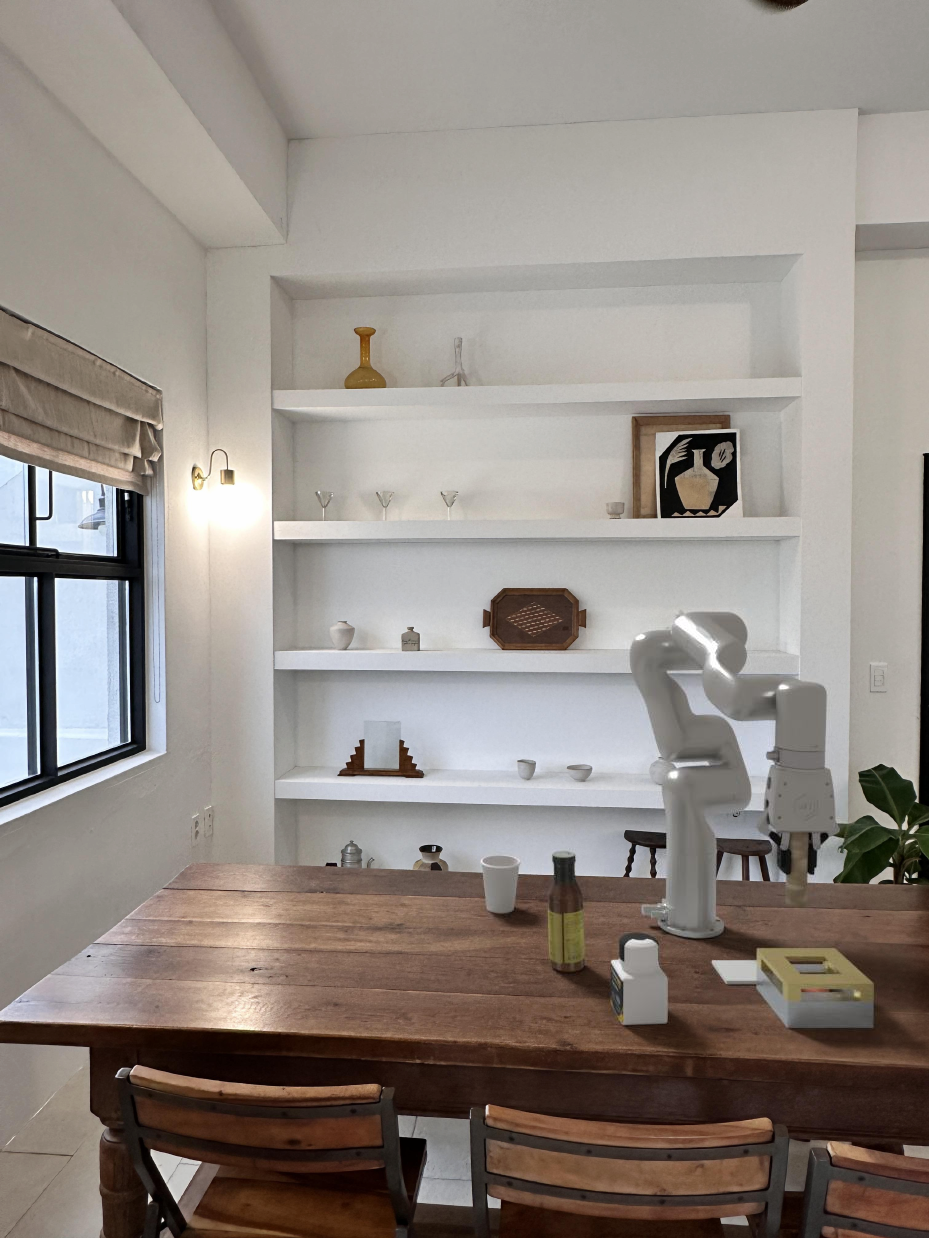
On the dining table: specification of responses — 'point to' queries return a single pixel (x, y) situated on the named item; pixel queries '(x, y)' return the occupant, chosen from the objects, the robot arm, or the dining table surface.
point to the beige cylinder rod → (797, 870)
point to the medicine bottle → (639, 981)
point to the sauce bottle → (565, 916)
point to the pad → (737, 971)
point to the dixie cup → (500, 882)
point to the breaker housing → (798, 1009)
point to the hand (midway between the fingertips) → (796, 870)
